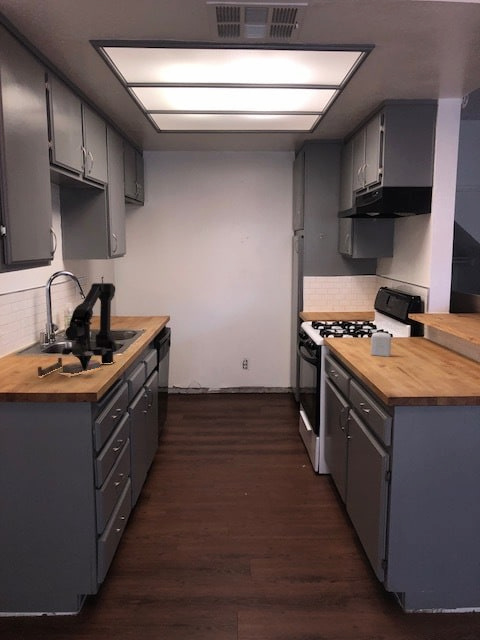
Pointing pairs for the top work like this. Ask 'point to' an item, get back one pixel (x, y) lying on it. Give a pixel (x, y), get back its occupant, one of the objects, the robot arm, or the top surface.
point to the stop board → (50, 368)
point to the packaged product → (79, 367)
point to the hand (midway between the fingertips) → (85, 369)
